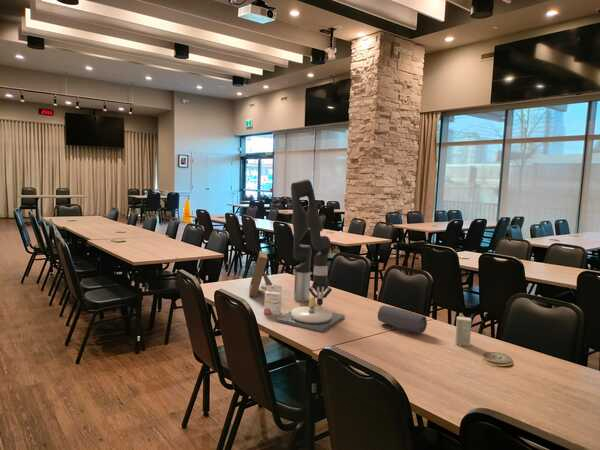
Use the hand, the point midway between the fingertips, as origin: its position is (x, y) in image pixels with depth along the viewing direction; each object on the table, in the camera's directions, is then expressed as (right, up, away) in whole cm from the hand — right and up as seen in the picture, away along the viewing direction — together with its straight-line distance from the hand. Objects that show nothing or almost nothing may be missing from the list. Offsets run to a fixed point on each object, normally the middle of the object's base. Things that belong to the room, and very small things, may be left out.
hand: (319, 305), depth 224 cm
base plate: (-5, -6, -8) cm, 11 cm away
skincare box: (+63, -11, -34) cm, 73 cm away
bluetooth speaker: (+39, -9, -17) cm, 44 cm away
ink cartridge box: (-25, -4, 0) cm, 26 cm away
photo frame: (-35, 0, +39) cm, 53 cm away
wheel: (-5, -4, -9) cm, 11 cm away
